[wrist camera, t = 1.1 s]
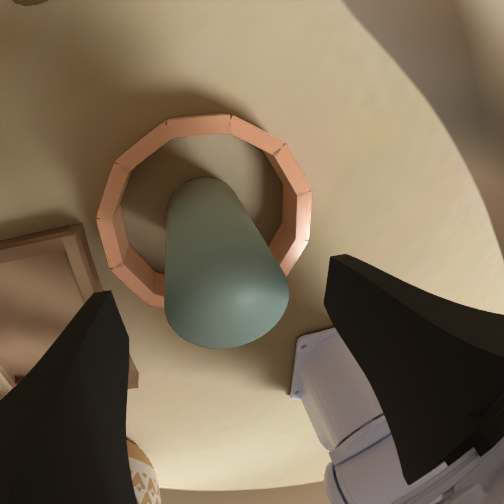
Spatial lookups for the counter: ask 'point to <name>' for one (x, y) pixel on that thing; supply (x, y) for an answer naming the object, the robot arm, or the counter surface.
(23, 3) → the olive pepper mill
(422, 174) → the counter surface
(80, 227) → the walnut tray
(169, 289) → the gray-green peg
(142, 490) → the vase
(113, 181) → the faceted terracotta ring
